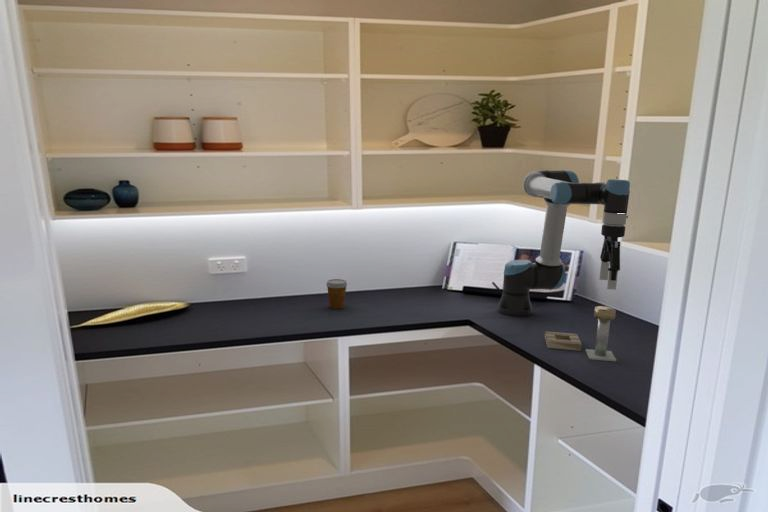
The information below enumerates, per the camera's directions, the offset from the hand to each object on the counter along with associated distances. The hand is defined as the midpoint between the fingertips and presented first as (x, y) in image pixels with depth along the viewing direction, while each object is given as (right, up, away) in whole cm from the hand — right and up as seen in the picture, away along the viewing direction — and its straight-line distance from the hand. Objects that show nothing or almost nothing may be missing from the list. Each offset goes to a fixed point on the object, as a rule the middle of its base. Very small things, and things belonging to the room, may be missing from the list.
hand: (607, 284), depth 198 cm
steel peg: (-1, -25, +5) cm, 26 cm away
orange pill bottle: (-100, -13, +59) cm, 117 cm away
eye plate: (-11, -24, +17) cm, 31 cm away
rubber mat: (-1, -26, +5) cm, 27 cm away
